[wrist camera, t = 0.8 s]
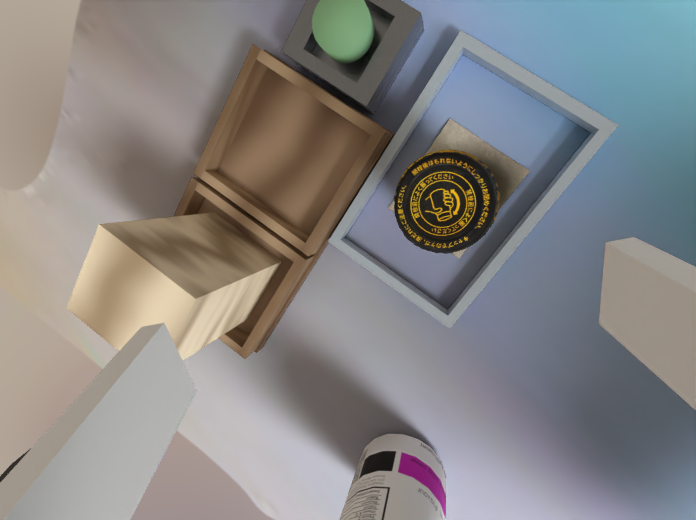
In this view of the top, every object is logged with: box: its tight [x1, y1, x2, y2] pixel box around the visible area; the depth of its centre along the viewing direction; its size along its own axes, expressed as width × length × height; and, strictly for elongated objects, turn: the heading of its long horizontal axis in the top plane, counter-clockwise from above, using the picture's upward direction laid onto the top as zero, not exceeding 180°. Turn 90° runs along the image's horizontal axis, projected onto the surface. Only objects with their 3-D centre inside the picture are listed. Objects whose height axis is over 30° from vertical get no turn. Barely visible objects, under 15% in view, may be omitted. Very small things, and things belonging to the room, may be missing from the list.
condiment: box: [388, 119, 530, 258], centre depth 24 cm, size 7×8×12 cm
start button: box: [312, 0, 374, 63], centre depth 26 cm, size 4×4×2 cm
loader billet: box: [67, 212, 282, 360], centre depth 29 cm, size 8×7×12 cm
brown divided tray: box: [173, 44, 395, 359], centre depth 33 cm, size 13×24×3 cm, turn 148°
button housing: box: [282, 0, 424, 114], centre depth 28 cm, size 8×7×3 cm
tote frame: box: [328, 31, 618, 329], centre depth 29 cm, size 13×19×2 cm
